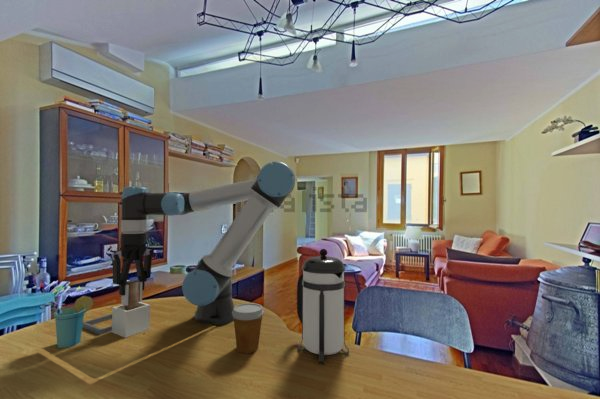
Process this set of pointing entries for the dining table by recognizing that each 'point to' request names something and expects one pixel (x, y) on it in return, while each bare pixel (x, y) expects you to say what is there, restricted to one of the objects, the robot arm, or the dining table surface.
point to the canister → (130, 320)
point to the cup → (70, 321)
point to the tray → (89, 326)
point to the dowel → (133, 295)
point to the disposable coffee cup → (247, 326)
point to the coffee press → (322, 305)
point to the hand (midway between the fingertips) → (131, 302)
